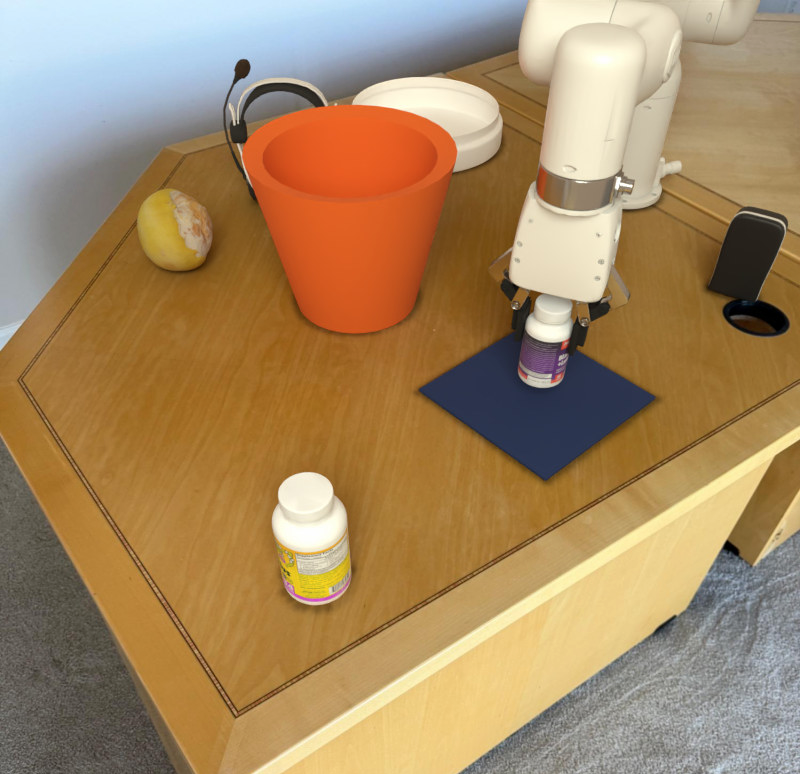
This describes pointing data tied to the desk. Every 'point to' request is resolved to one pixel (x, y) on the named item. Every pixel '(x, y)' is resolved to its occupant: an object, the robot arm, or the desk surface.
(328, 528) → the supplement bottle
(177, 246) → the fruit
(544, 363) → the pill bottle
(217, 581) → the desk surface
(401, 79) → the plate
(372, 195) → the flowerpot
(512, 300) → the robot arm
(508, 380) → the mat
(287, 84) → the headset
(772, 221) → the battery charger
